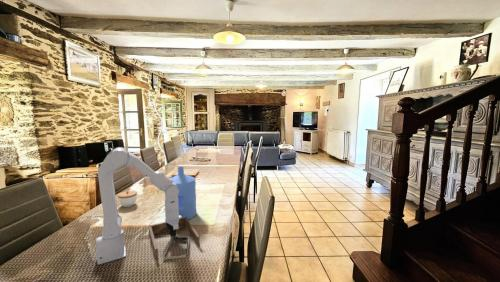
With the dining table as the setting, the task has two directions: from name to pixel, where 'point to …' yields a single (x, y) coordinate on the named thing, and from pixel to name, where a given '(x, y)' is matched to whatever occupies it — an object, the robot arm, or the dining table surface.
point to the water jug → (185, 193)
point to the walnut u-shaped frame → (162, 228)
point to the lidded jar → (127, 198)
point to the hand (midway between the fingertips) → (173, 237)
